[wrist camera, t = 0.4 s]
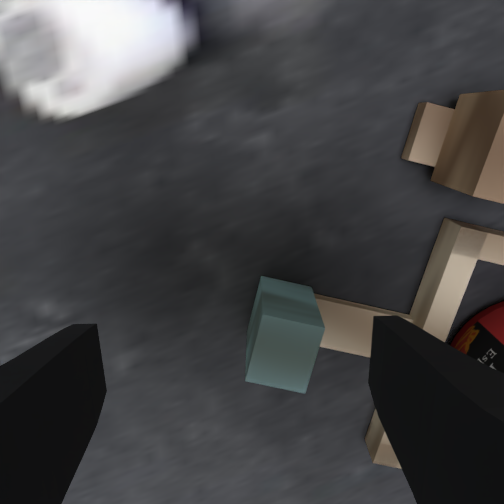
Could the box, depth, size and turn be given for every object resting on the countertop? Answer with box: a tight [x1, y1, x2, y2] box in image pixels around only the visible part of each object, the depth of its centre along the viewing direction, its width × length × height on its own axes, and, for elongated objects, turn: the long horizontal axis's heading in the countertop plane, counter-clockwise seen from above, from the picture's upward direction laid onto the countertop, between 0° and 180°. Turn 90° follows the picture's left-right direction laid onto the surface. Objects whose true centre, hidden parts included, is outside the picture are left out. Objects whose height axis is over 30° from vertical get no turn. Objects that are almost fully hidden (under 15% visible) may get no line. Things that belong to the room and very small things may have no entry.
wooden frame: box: [245, 218, 504, 469], centre depth 21 cm, size 12×20×4 cm, turn 77°
